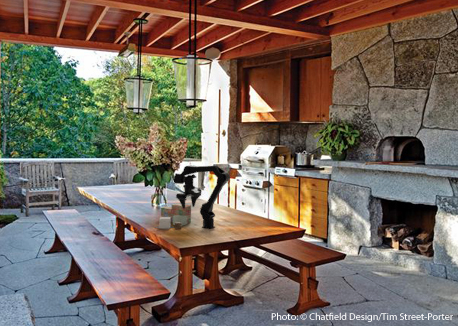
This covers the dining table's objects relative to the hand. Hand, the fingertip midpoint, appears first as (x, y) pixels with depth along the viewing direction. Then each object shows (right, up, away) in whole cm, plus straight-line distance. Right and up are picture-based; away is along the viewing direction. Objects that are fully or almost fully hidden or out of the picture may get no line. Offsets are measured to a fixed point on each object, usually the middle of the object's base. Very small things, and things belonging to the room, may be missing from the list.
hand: (188, 207), depth 279 cm
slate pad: (-15, -12, -7) cm, 20 cm away
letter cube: (-6, -13, -8) cm, 16 cm away
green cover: (-6, -12, +3) cm, 14 cm away
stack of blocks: (-10, -11, +13) cm, 20 cm away
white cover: (-15, -12, -7) cm, 20 cm away
